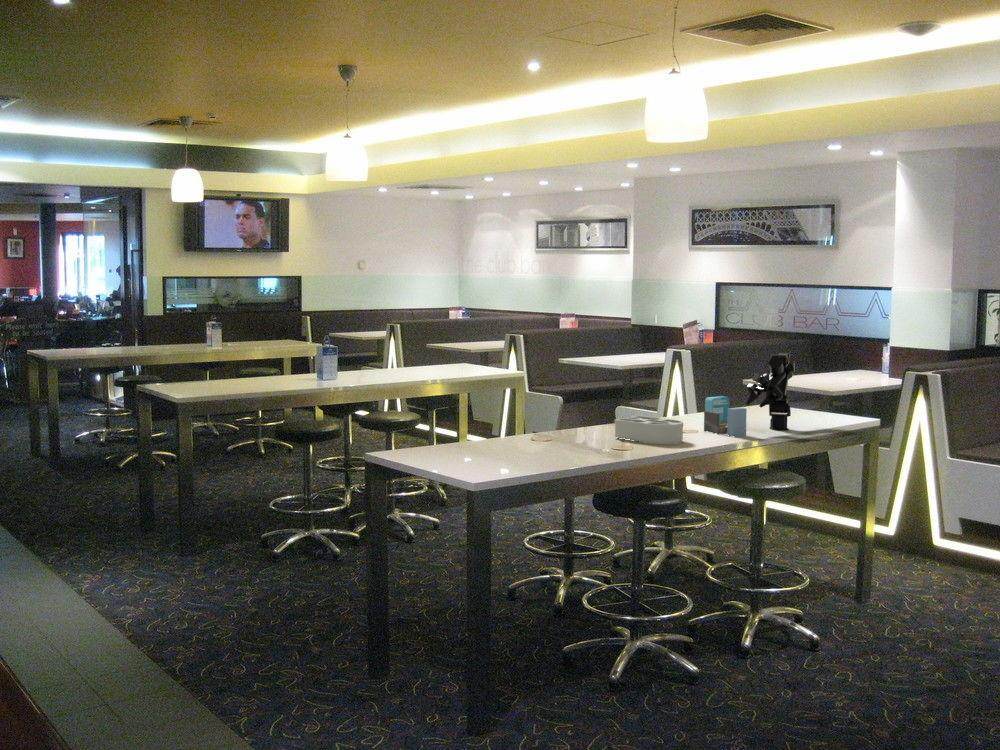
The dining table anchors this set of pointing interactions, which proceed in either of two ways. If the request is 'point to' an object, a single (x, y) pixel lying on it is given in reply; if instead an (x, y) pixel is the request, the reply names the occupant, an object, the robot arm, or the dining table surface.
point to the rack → (713, 423)
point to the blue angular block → (736, 422)
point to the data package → (718, 406)
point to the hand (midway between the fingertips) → (753, 405)
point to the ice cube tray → (649, 430)
